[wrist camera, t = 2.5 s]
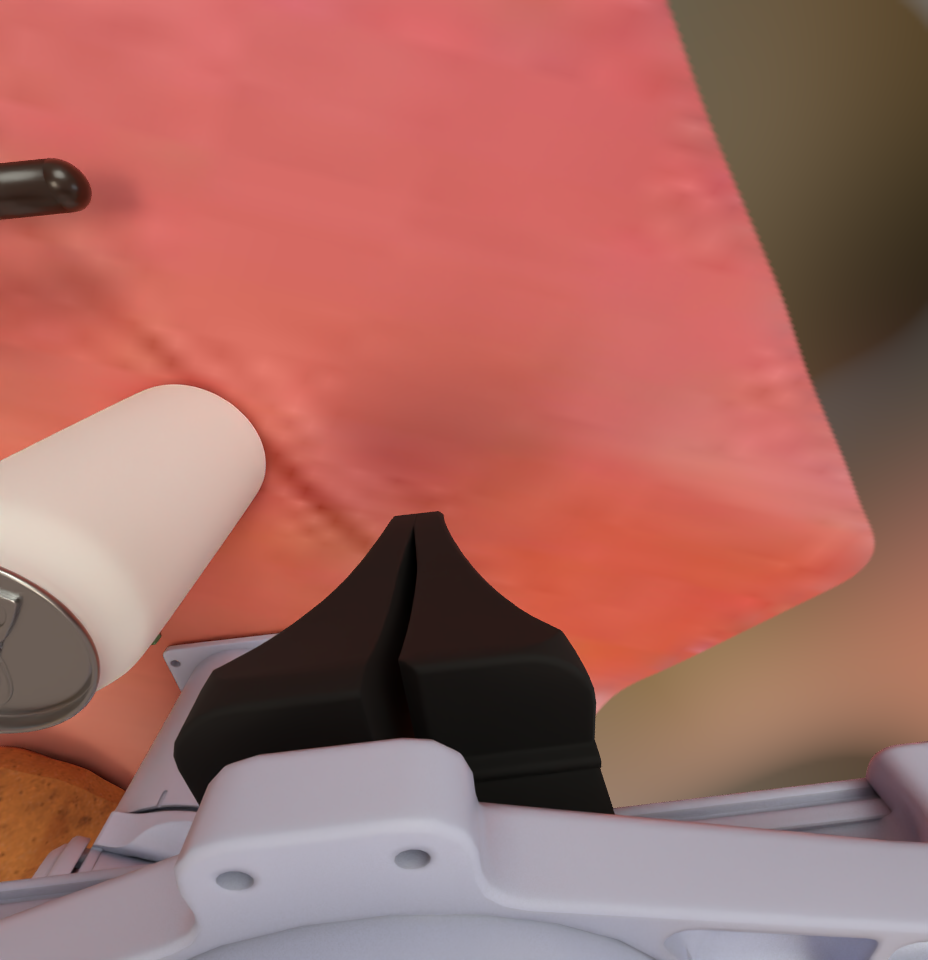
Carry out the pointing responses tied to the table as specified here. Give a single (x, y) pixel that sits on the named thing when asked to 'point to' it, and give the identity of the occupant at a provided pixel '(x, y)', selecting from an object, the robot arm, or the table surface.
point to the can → (111, 540)
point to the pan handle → (41, 188)
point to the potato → (46, 808)
